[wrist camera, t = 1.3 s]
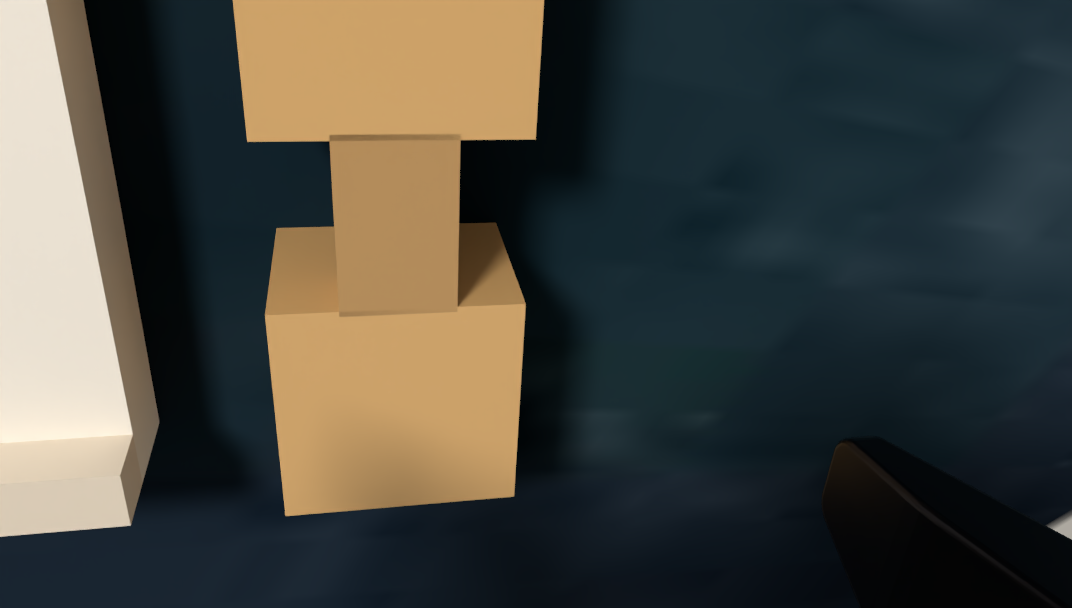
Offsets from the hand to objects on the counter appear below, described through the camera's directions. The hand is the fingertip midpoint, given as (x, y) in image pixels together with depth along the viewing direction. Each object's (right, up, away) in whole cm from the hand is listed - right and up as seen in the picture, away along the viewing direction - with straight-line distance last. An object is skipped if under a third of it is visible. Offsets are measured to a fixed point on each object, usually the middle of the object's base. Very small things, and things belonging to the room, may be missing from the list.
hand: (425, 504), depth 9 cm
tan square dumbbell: (-2, +5, +8) cm, 10 cm away
